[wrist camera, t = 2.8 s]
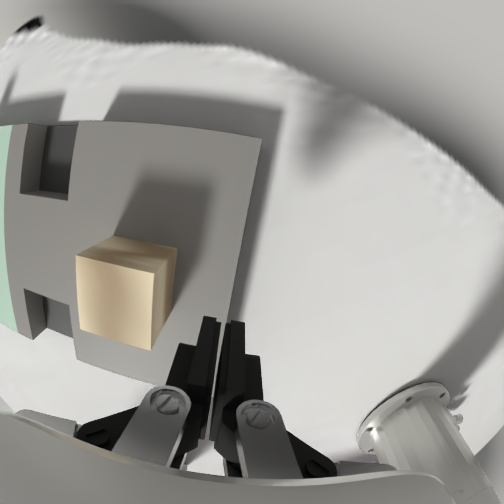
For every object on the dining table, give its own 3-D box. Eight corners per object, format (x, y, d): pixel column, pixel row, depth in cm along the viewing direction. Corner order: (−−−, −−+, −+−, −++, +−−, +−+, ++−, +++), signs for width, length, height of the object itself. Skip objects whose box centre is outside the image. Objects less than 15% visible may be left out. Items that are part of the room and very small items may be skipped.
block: (177, 248, 17) (154, 273, 12) (171, 312, 18) (150, 350, 14) (113, 235, 17) (75, 254, 12) (111, 297, 18) (80, 329, 13)
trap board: (260, 144, 18) (264, 131, 12) (216, 374, 23) (208, 424, 17) (-10, 131, 16) (-50, 131, 11) (-8, 299, 21) (-39, 320, 16)
